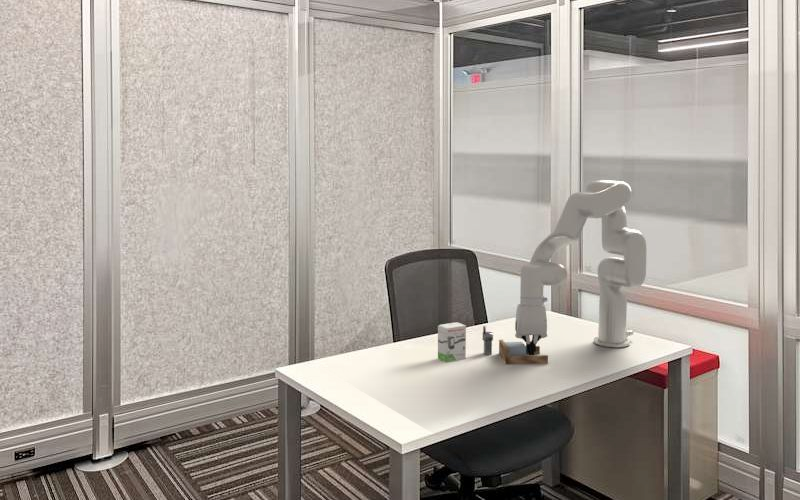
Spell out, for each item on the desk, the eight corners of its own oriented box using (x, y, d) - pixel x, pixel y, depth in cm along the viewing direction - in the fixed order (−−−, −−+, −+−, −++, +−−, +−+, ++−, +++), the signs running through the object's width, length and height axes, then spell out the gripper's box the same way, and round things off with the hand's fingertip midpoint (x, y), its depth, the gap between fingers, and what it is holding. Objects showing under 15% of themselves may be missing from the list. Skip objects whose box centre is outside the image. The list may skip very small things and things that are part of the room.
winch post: (491, 352, 234) (492, 324, 233) (493, 355, 231) (494, 327, 229) (481, 352, 234) (481, 325, 233) (483, 355, 230) (483, 327, 229)
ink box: (445, 362, 223) (445, 328, 221) (437, 358, 227) (437, 324, 225) (466, 358, 227) (466, 324, 225) (457, 355, 231) (458, 321, 230)
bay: (538, 352, 233) (539, 338, 232) (547, 363, 221) (548, 348, 220) (498, 353, 232) (499, 339, 232) (505, 364, 221) (506, 349, 220)
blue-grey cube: (521, 355, 230) (521, 341, 229) (526, 361, 224) (526, 346, 223) (504, 356, 229) (504, 342, 229) (508, 361, 223) (508, 347, 223)
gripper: (550, 298, 228) (549, 350, 231) (507, 299, 228) (506, 351, 230) (556, 303, 221) (555, 357, 223) (511, 304, 220) (511, 358, 223)
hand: (530, 354), depth 227 cm, fingers closed
